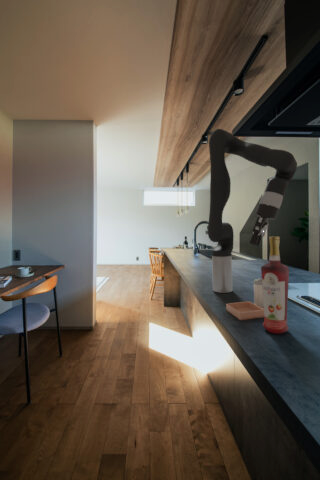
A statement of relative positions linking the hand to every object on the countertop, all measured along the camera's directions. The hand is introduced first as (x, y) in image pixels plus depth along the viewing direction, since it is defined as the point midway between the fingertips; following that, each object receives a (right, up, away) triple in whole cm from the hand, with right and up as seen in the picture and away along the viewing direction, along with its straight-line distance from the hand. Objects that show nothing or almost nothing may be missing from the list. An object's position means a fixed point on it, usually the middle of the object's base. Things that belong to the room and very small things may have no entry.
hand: (254, 244), depth 89 cm
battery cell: (+1, -24, -3) cm, 24 cm away
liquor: (-3, -25, -22) cm, 34 cm away
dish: (-7, -25, -9) cm, 27 cm away
